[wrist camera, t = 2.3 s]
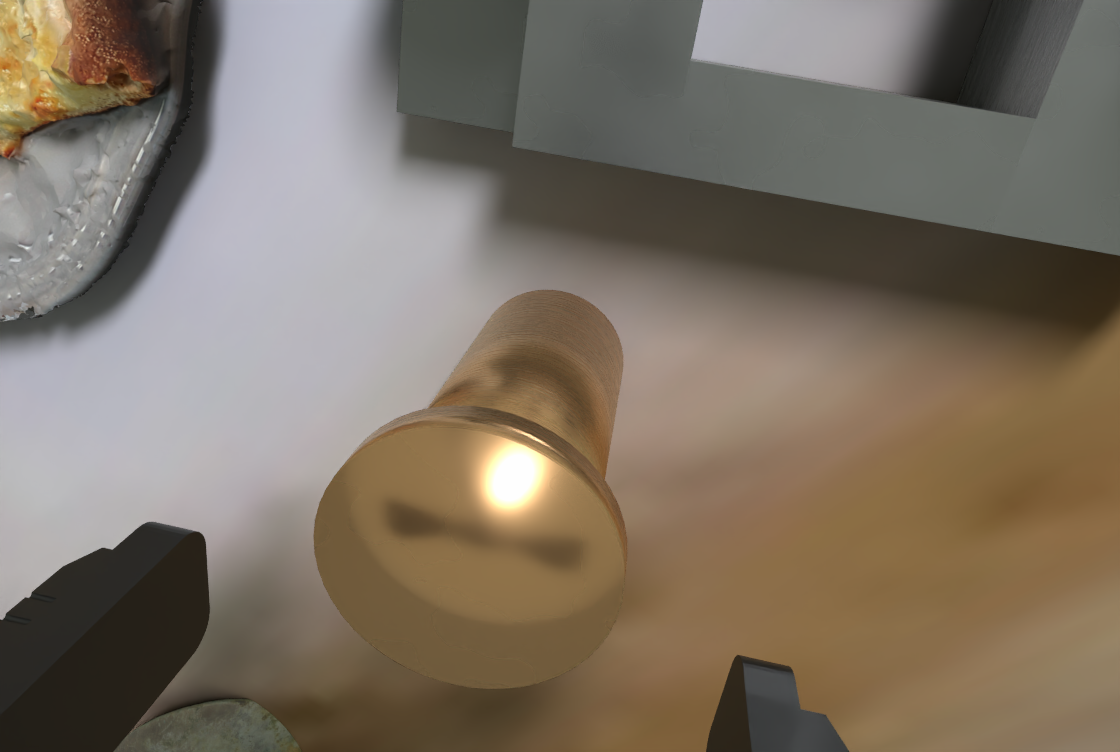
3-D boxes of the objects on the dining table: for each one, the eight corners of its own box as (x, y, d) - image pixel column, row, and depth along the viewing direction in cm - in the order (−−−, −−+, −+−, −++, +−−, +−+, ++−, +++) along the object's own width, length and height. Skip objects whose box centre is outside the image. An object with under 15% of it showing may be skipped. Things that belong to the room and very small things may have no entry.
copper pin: (450, 423, 22) (312, 651, 13) (467, 250, 19) (314, 398, 11) (626, 459, 21) (594, 716, 13) (663, 288, 19) (654, 468, 11)
